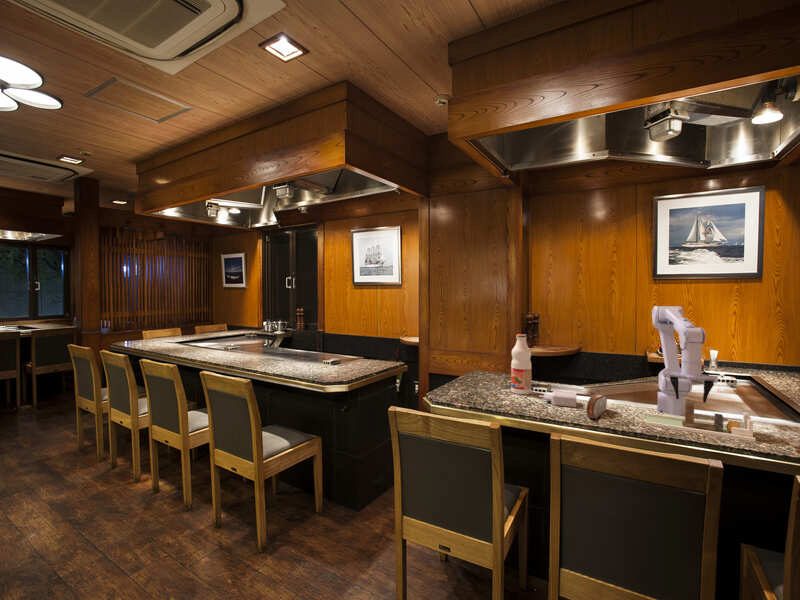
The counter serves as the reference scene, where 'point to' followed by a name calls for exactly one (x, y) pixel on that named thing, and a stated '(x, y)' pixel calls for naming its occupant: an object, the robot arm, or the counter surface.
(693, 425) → the striker
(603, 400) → the tin
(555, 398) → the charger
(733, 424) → the ball
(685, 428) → the pitch
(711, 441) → the counter surface
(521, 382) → the fruit juice
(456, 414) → the counter surface
